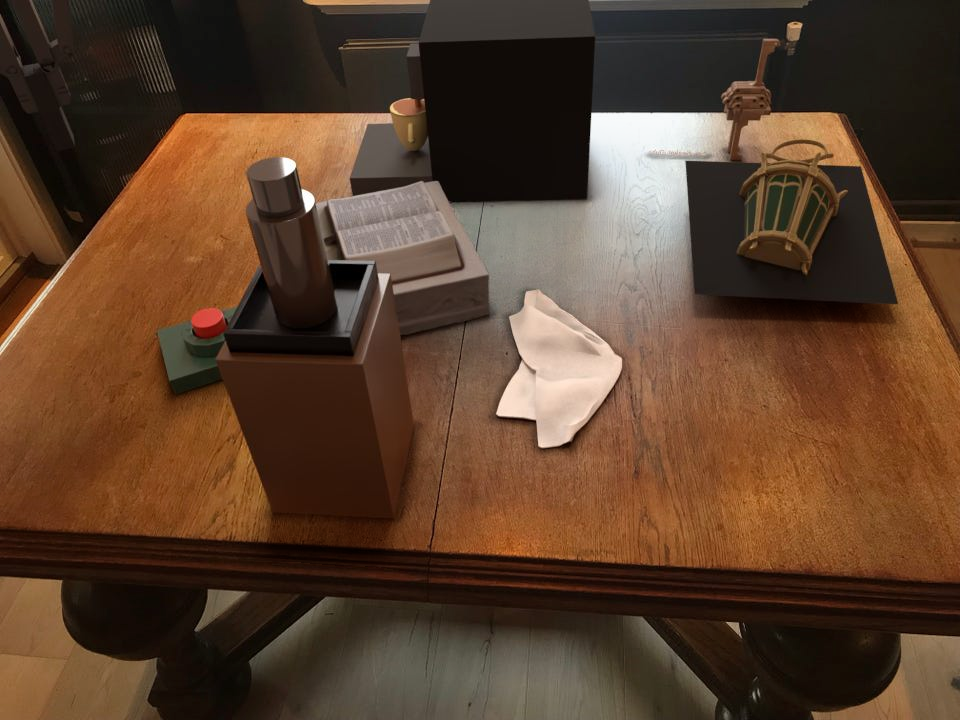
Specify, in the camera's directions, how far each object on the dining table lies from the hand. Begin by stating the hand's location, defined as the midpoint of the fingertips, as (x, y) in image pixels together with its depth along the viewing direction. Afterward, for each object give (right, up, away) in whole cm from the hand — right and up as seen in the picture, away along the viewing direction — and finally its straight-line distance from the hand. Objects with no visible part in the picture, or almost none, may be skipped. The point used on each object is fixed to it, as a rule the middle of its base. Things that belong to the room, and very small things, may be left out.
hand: (65, 142), depth 68 cm
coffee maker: (+35, +11, +55) cm, 66 cm away
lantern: (+75, -4, +35) cm, 83 cm away
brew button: (+5, -15, +22) cm, 28 cm away
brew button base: (+5, -18, +25) cm, 31 cm away
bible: (+25, -8, +35) cm, 44 cm away
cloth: (+46, -20, +21) cm, 54 cm away
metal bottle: (+22, -15, -3) cm, 27 cm away
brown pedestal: (+23, -30, +11) cm, 39 cm away
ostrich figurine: (+72, +13, +55) cm, 92 cm away
